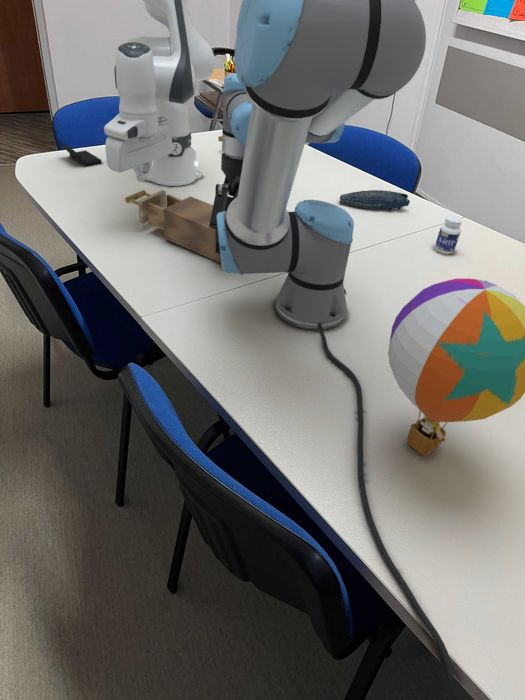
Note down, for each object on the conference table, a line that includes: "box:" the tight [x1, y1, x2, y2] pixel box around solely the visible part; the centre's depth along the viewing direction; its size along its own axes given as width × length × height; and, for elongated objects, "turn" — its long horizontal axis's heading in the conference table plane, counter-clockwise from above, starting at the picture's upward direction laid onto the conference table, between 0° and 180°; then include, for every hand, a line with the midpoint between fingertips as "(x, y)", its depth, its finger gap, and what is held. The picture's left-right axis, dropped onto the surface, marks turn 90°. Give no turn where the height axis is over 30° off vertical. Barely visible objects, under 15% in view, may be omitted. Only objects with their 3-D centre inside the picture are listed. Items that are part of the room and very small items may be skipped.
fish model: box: [339, 189, 411, 211], centre depth 158 cm, size 7×21×5 cm, turn 84°
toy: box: [387, 278, 525, 458], centre depth 75 cm, size 20×20×30 cm
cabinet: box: [163, 195, 221, 264], centre depth 129 cm, size 21×10×8 cm, turn 59°
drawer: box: [124, 189, 183, 231], centre depth 133 cm, size 26×9×6 cm, turn 59°
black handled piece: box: [57, 140, 103, 167], centre depth 170 cm, size 12×7×10 cm
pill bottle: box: [434, 215, 463, 255], centre depth 137 cm, size 5×5×9 cm
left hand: (143, 179), depth 132 cm, fingers closed
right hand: (234, 244), depth 127 cm, fingers closed on cabinet, 10 cm apart
